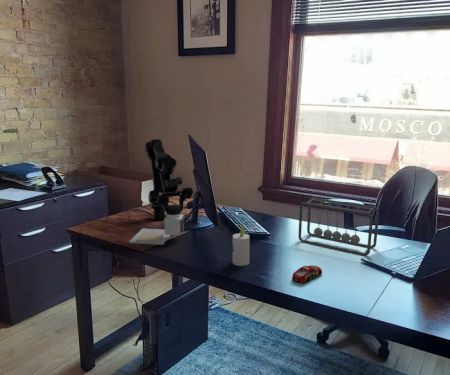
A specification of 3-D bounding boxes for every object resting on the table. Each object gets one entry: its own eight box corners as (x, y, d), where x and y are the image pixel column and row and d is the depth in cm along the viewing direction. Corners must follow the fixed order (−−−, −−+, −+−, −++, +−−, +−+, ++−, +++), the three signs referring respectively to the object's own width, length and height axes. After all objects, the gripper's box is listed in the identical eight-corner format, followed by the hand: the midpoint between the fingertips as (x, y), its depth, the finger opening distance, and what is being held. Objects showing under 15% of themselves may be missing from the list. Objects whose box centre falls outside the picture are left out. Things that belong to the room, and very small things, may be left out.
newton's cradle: (297, 241, 172) (299, 201, 168) (307, 234, 181) (309, 196, 176) (369, 257, 156) (373, 213, 152) (376, 248, 164) (380, 207, 160)
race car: (311, 269, 146) (312, 259, 145) (324, 274, 142) (325, 263, 141) (289, 280, 137) (289, 269, 136) (301, 286, 133) (302, 275, 132)
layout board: (142, 229, 187) (142, 226, 186) (173, 231, 185) (173, 228, 184) (128, 243, 170) (128, 239, 170) (163, 244, 168) (163, 241, 168)
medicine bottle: (181, 235, 169) (180, 208, 166) (164, 234, 170) (163, 207, 167) (184, 229, 176) (183, 203, 173) (168, 229, 177) (167, 202, 174)
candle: (229, 260, 153) (229, 223, 149) (245, 258, 155) (245, 221, 151) (235, 267, 147) (235, 228, 143) (251, 264, 149) (252, 226, 146)
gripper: (148, 172, 167) (154, 204, 160) (191, 169, 173) (199, 200, 166) (145, 186, 176) (151, 217, 169) (187, 182, 182) (194, 212, 175)
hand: (174, 211), depth 169 cm, fingers closed on medicine bottle, 6 cm apart
